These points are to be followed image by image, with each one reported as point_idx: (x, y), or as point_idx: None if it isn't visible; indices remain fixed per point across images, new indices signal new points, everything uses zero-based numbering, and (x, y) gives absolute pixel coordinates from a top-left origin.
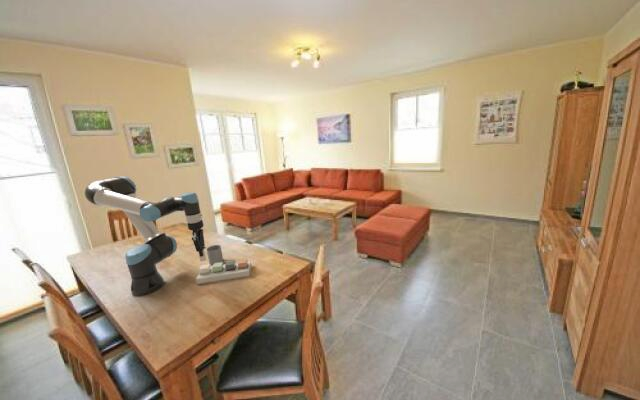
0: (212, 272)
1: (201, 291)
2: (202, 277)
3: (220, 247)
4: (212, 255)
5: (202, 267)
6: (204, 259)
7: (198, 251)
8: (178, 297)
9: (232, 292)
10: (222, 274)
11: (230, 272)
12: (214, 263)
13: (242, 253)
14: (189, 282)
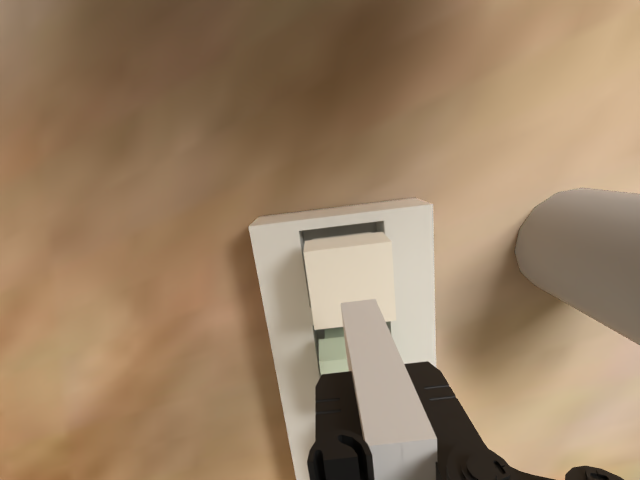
0: None
1: (174, 277)
2: (262, 271)
3: None
4: (594, 276)
5: (338, 273)
6: (347, 360)
7: (364, 433)
8: (108, 143)
9: (160, 443)
10: (285, 398)
11: (304, 439)
12: None
13: (629, 392)
14: (294, 139)
